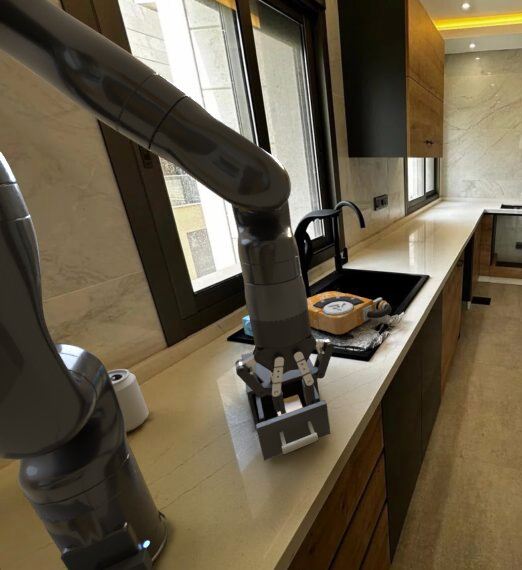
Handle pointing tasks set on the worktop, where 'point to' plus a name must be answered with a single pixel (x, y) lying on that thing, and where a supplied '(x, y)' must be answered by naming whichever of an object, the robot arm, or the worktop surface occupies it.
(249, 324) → the teapot
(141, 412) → the can
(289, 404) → the block
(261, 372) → the gray drawer box
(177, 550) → the worktop surface
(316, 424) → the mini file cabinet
